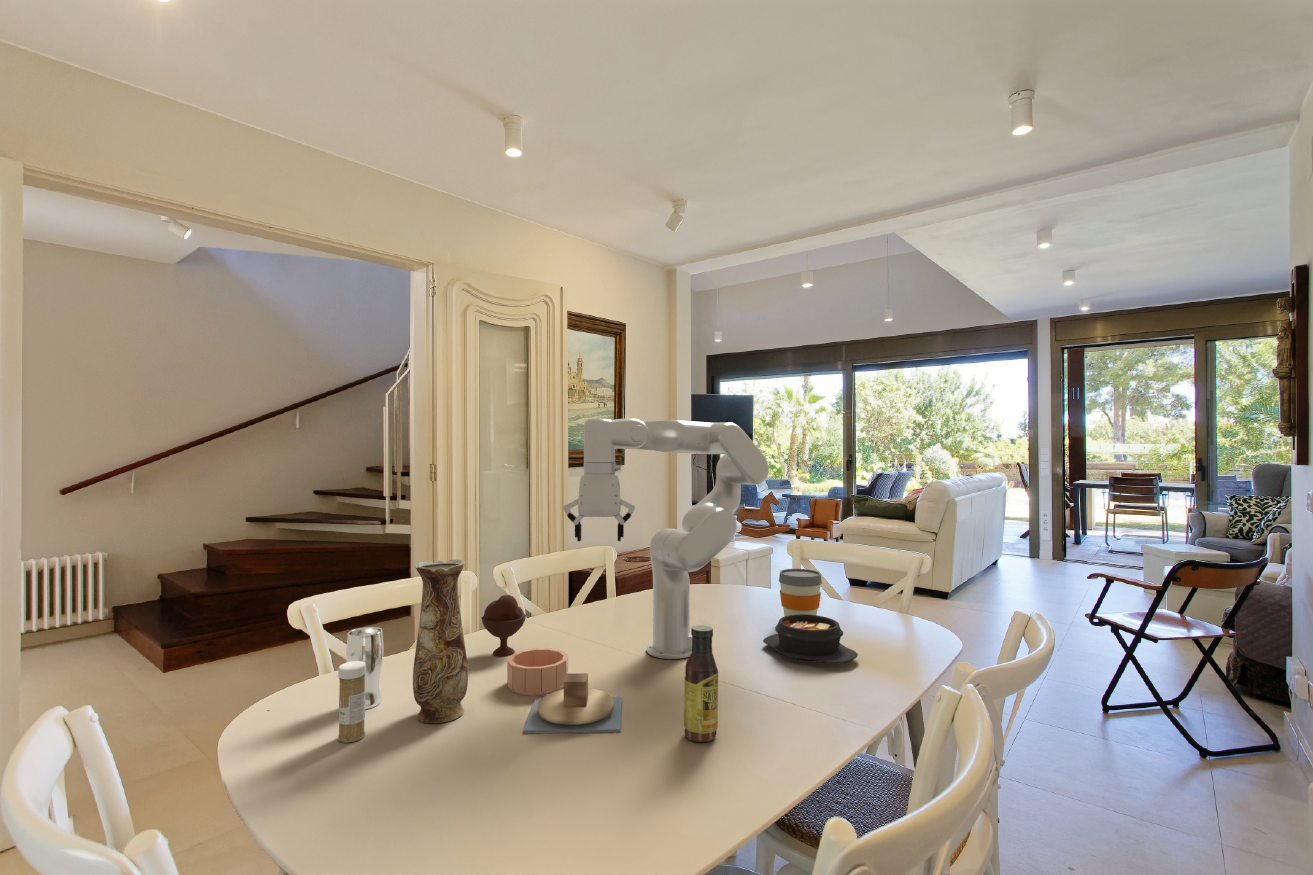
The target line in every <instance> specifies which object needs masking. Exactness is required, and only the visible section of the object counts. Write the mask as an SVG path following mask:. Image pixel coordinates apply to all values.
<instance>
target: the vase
mask: <svg viewBox="0 0 1313 875" xmlns="http://www.w3.org/2000/svg"><path fill="white" fill-rule="evenodd" d="M465 566H466V561H463V560H461V559H448V560H447V561H446V562H445V561H443V560H438V561H436V562H433V561H432V560H425V561H421V562H418V563H417V564H416V565H414V569H415V570H416V572H417V573H418V574H419V576H420V578H421V580H422V591H421V592H422V593H421V605H420V613H419V620H418V623H419V624H418V628H417V629H418V631H417V636H416V637H417V638H416V646H415V654H414V660H413V661H414V662H413V667H412V668H413V669H412V692H413V698H414V701H415V702H416V704H417V705H418V706H419V707H420V710H419V713H418V715H417V717H416V718H417V720H418V721H419V722H422V723H426V724H441V723H445V722H451V721H454V720H457V719H458V718H460V717H461V716H463V715H464V714H465V708H464V707H463V706H462V704H461V703H462V701H463V699H464V698H465V696H466V695H467V690H468V684H469V672H468V671H469V668H468V666H469V665H468V658H467V656H468V655H467V649H466V643H465V642H466V641H465V636H464V629H463V623H462V615H461V614H462V613H461V607H460V598H459V597H460V596H459V586H458V584H459V578H460V575H461V573H462V571H463V569H464V567H465Z"/></svg>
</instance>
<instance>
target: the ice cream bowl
mask: <svg viewBox="0 0 1313 875" xmlns="http://www.w3.org/2000/svg"><path fill="white" fill-rule="evenodd" d="M526 616H527V615H526V613H524V611H523V609H522V607H520V606H519V604H518V601H517V599H516V598H515V597H514V596H513V595H510V594H504V595H503V594H502V595H501V596H500V597H499V598H498V599H495V600H493V601H492V602H490V603H489V604H488V605H487V606H486V608H485V609H484V614H483V615H482V617H481V623H482V625H483V627H484V629H485V630H486V631H487V632H489V634H491V636H493V637H496V638H499V642H500V643H499V647H497V648H495V649H494V650H493V651H492V655H493V656H494V657H510V656H511V655H513V654H515V653H516V651H515V649H513V647H510V646H508V639H509V637H510V638H511V637H512V636H513V635H515V634H516V633H518V631H519V630H521V628H522V627H523V626H524V623H525V621H526Z"/></svg>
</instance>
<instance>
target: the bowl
mask: <svg viewBox="0 0 1313 875" xmlns="http://www.w3.org/2000/svg"><path fill="white" fill-rule="evenodd" d="M506 664H507V665H506V666H507V670H506V671H507V672H506V674H507V675H506V678H507V680H506V681H507V682H506V683H507V687H508V690H509V691H510V692H511V693H514V694H516V695H521V696H526V697H527V696H528V697H530V696H531V697H533V696H546V695H548V694H550V693H552V692H556V691H559V690H564V679H565V676H566V674H569V655H568V653H566V652H565V651H563V650H559V649H555V648H544V647H543V648H542V647H541V648H531V649H524V650H520V651H518V652H515V653H514V654H513V655H509V656H508V659H507V661H506Z"/></svg>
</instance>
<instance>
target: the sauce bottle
mask: <svg viewBox="0 0 1313 875" xmlns="http://www.w3.org/2000/svg"><path fill="white" fill-rule="evenodd" d="M690 632H691V635H692V653H691V655H690V656H689V657H687V659H686V662H685V672H684V689H683V690H684V696H683V698H684V700H683V703H684V704H683V727H684V736H685V738H686V739H687V740H690V741H692V742H696V743H707V742H711V741H714V740H715V739H716V737H717V732H718V729H719V727H718V726H719V725H718V724H719V721H718V720H719V718H718V717H719V714H718V713H719V669H718V666H717V664H716V660H715V656H714V653H713V637H714V630H713V627H712V626H709V625H701V624H700V625H699V624H698V625H693V626H692V627H691V629H690Z"/></svg>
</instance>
